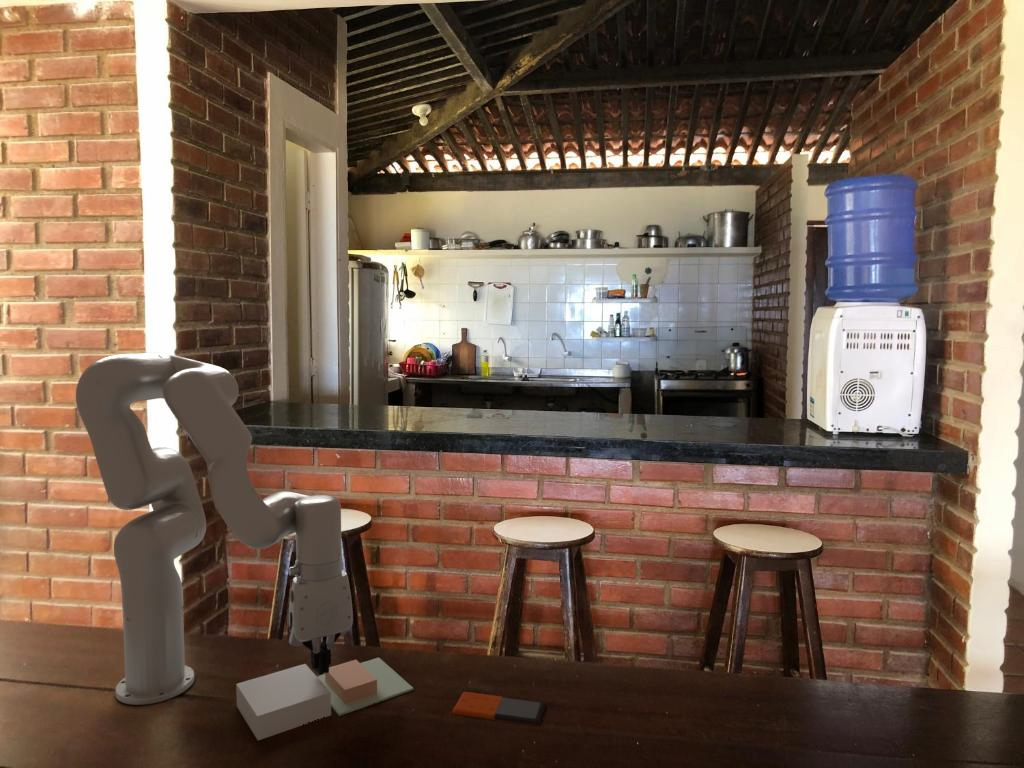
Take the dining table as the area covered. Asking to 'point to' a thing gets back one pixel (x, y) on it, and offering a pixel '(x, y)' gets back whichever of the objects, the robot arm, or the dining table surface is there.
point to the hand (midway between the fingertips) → (321, 670)
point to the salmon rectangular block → (351, 681)
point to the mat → (386, 687)
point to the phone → (500, 708)
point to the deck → (282, 701)
